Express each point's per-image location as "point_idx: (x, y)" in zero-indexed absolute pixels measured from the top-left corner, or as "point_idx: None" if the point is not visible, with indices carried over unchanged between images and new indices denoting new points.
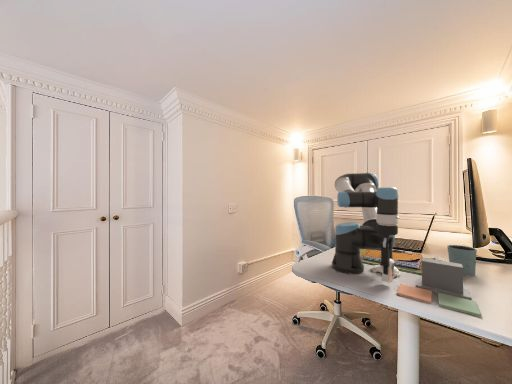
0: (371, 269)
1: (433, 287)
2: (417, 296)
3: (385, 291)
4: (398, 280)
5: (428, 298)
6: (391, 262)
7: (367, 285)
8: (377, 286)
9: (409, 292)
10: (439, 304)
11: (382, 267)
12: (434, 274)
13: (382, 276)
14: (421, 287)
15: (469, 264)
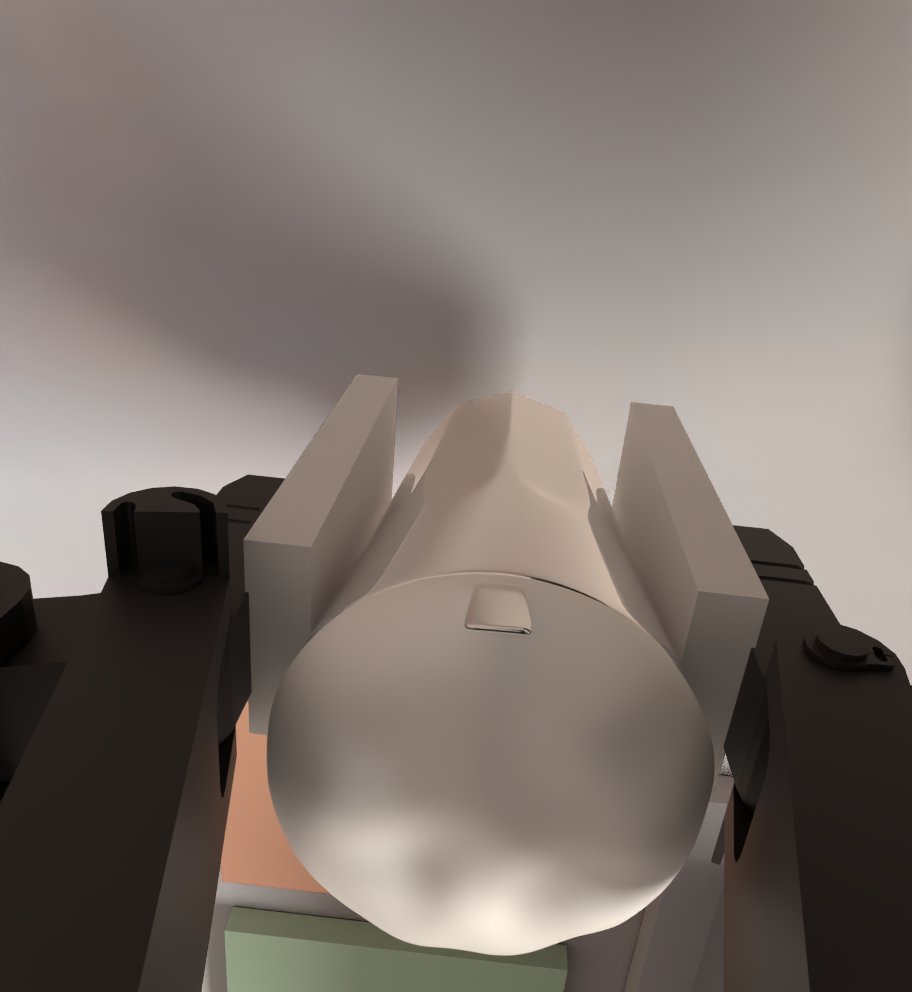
0: None
1: (700, 959)
2: (263, 780)
3: (220, 400)
4: (880, 578)
5: (294, 868)
6: (315, 874)
7: (270, 64)
8: (352, 260)
9: None
10: (226, 925)
11: (267, 516)
12: None
13: (336, 414)
14: None
15: None
